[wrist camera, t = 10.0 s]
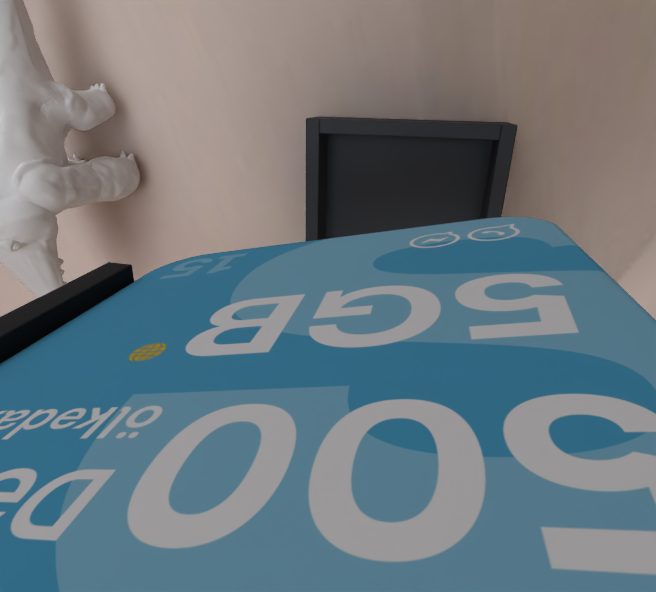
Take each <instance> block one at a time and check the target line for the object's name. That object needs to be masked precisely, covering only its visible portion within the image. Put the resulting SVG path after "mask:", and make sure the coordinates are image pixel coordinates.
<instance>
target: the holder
mask: <svg viewBox="0 0 656 592" xmlns="http://www.w3.org/2000/svg"><path fill="white" fill-rule="evenodd" d="M516 131H517V125H515V124H511V123H507V122H474V121H442V120H409V119H376V118H344V117H313V118H307V119H306V242H307V241H314V240H322V239H330V238H338V237H346V236H354V235H361V234H369V233H377V232H385V231H393V230H400V229H408V228H416V227H424V226H432V225H440V224H447V223H455V222H463V221H471V220H479V219H487V218H498V217H501V214H502V209H503V203H504V197H505V192H506V186H507V181H508V175H509V170H510V164H511V159H512V153H513V147H514V142H515V136H516Z"/></svg>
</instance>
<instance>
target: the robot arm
mask: <svg viewBox="0 0 656 592" xmlns="http://www.w3.org/2000/svg"><path fill="white" fill-rule="evenodd" d="M133 282H134V278H133V271H132V265H128V264H119V263H110V262H109V263H107V264H105V265H103V266H101V267H99V268H97V269H95V270H93V271H91V272H89V273H87V274H85V275H83V276H81V277H79V278H77V279H75V280H73V281H71V282H69V283H67V284H65V285H63V286H61V287H59V288H57V289H55V290H53V291H51V292H49V293H47V294H45V295H43V296H41V297H39V298H37V299H35V300H33V301H31V302H29V303H27V304H25V305H23V306H21V307H19V308H17V309H15V310H13V311H11V312H9V313H8V314H6V315H4V316H2V317H0V364H1V363H2V362H4V361H6V360H7V359H9V358H11V357H12V356H14V355H16V354H17V353H19V352H20V351H22V350H24V349H25V348H27V347H29V346H30V345H32V344H33V343H35V342H37V341H38V340H40V339H42V338H43V337H45V336H47V335H48V334H50V333H51V332H53V331H55V330H56V329H58V328H60V327H61V326H63V325H64V324H66V323H68V322H69V321H71V320H73V319H74V318H76V317H78V316H79V315H81V314H82V313H84V312H86V311H87V310H89V309H91V308H92V307H94V306H95V305H97V304H99V303H100V302H102V301H104V300H105V299H107V298H109V297H110V296H112V295H113V294H115V293H117V292H118V291H120V290H122V289H123V288H125V287H127V286H128V285H130V284H131V283H133Z"/></svg>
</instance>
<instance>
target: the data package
mask: <svg viewBox="0 0 656 592" xmlns="http://www.w3.org/2000/svg"><path fill="white" fill-rule="evenodd" d="M0 592H656V320H655V319H654V318H653V317H652V316H651V315H650V314H649V313H648V312H647V311H646V310H644V309H643V308H642V307H641V306H640V305H639V304H638V303H637V302H636V301H635V300H634V299H633V298H632V297H631V296H630V295H629V294H628V293H627V292H626V291H625V290H624V289H623V288H622V287H621V286H620V285H619V284H618V283H616V282H615V281H614V280H613V279H612V278H611V277H610V276H609V275H608V274H607V273H606V272H605V271H604V270H603V269H602V268H601V267H600V266H599V265H598V264H597V263H596V262H595V261H594V260H593V259H592V258H590V257H589V256H588V255H587V254H586V253H585V252H584V251H583V250H582V249H581V248H580V247H579V246H578V245H577V244H576V243H575V242H574V241H573V240H572V239H571V238H570V237H569V236H568V235H567V234H566V233H564V232H563V231H562V230H561V229H560V228H559V227H558V226H556V225H555V224H553V223H551V222H548V221H545V220H540V219H535V218H525V217H498V218H487V219H479V220H471V221H463V222H455V223H447V224H440V225H432V226H424V227H416V228H408V229H400V230H393V231H385V232H377V233H369V234H361V235H354V236H346V237H338V238H330V239H322V240H314V241H307V242H299V243H291V244H283V245H275V246H268V247H260V248H252V249H244V250H236V251H228V252H221V253H213V254H206V255H200V256H195V257H191V258H187V259H183V260H180V261H176V262H173V263H170V264H168V265H165V266H162V267H160V268H158V269H155V270H153V271H151V272H150V273H148V274H146V275H144V276H143V277H141V278H140V279H138V280H136V281H135V282H133V283H131V284H130V285H128V286H127V287H125V288H123V289H122V290H120V291H118V292H117V293H115V294H113V295H112V296H110V297H109V298H107V299H105V300H104V301H102V302H100V303H99V304H97V305H95V306H94V307H92V308H91V309H89V310H87V311H86V312H84V313H82V314H81V315H79V316H78V317H76V318H74V319H73V320H71V321H69V322H68V323H66V324H64V325H63V326H61V327H60V328H58V329H56V330H55V331H53V332H51V333H50V334H48V335H47V336H45V337H43V338H42V339H40V340H38V341H37V342H35V343H33V344H32V345H30V346H29V347H27V348H25V349H24V350H22V351H20V352H19V353H17V354H16V355H14V356H12V357H11V358H9V359H7V360H6V361H4V362H2V363H1V364H0Z"/></svg>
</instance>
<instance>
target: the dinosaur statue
mask: <svg viewBox="0 0 656 592" xmlns="http://www.w3.org/2000/svg"><path fill="white" fill-rule="evenodd" d="M115 112H116V106H115V103H114V101H113V99H112V98H111V96H110V95H109V94H108V93H107V91H106V88H105V85H104V84H103V83H102V84H101V85H100V87H99V85H98V84H95V85H94V86H93V85H91V86H90V89H89V90H85V91H80V90H78V91H73V90H71V89H70V88H68V87H67V86H65V85H63V84H61V83H59V82H56V81H54V78H53V77H52V75H51V73H50V70H49V68H48V65H47V63H46V61H45V59H44V57H43V54H42V52H41V50H40V48H39V45H38V43H37V41H36V38H35V35H34V30H33V25H32V22H31V20H30V17H29V15H28V12H27V9H26V7H25V4H24V2H23V0H0V262H1V263H2V264H3V265H4V266H5V267H6V268H7V269H8V270H9V271H10V272H11V273H12V274H13V275H14V276H15V277H16V278H17V279H18V280H19V281H20V282H21V283H22V284H23V285H25V286H26V287H27V288H28V289H29V290H30V291H31V292H32V293H33V294H34V295H35V296H36V297H37V298H39V297H41V296H43V295H45V294H47V293H49V292H51V291H53V290H55V289H57V288H59V287H61V286H63V285H65V284H67V282H64V281H63V279H62V275H63V274H64V270H62V269H60V265H61V264H62V263H63V262H64V261H63V259H60V258H58V252H57V244H56V239H57V233H58V224H57V218H56V216H55V215H57V214H58V213H60V212H62V211H63V210H66V209H68V208H74V207H78V206H82V205H84V204H87V203H90V202H105V201H116V200H119V199H122V198H125V197H127V196H129V195H130V194H131V193H132V192H133V191H135V190H136V189H137V187H138V185H139V182H140V172H139V169H138V167H137V165H136V161H135V159H134V156H133V154H132V153H131V154H130V155H129V156H128V157H127V156H126V154H125V152H124V151H123V150H122V152H121V155H120V157H119V158H113V157H110V156H103V157H98V158H94V159H91V160H90V161H87V160H86V159H85V160H80V159H79V158H78V157H77V155H76V154H75V153H74V155H73V160H72V159H70V158H69V157H68V156H67V154H66V152H65V148H64V141H65V138H66V136H67V133H68V132H69V131H70V127H72V128H74V129H76V130H81V131H87V130H90V129H92V128H94V127H95V126H97V125H99V124H100V123H102V122H104V121H105V120H107V119H109V118H110V117H112V116H113V115H114V114H115Z"/></svg>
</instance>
